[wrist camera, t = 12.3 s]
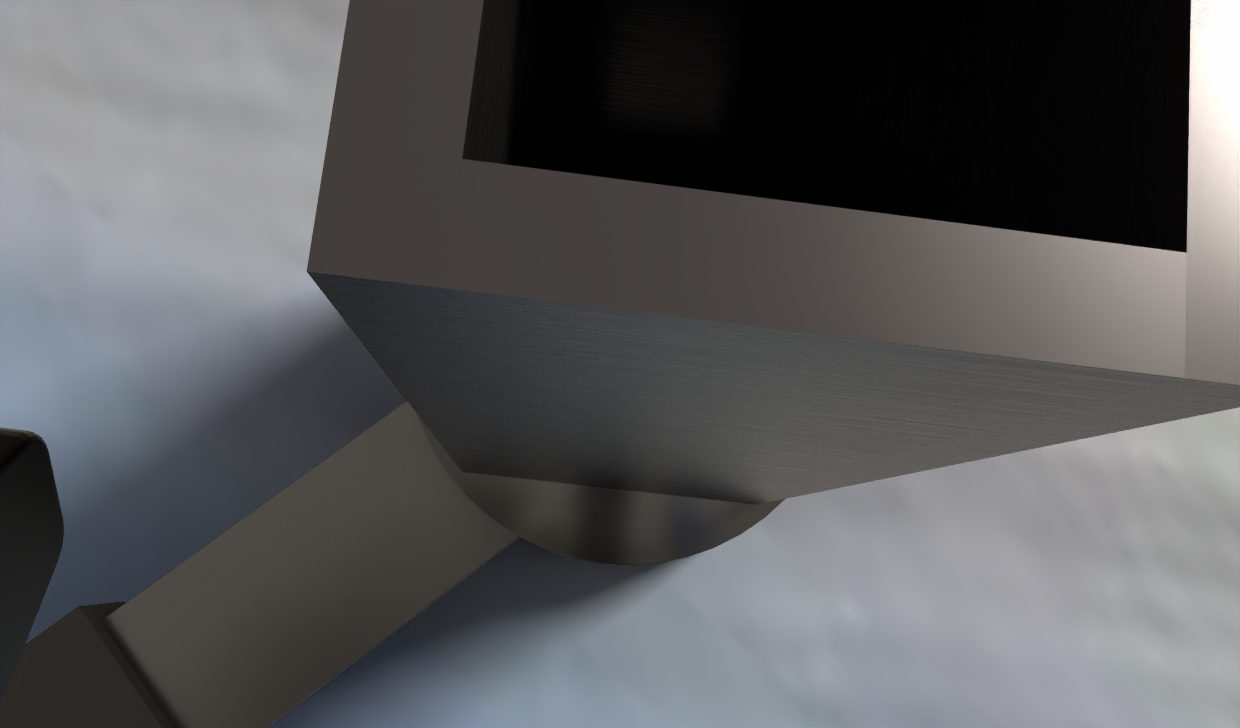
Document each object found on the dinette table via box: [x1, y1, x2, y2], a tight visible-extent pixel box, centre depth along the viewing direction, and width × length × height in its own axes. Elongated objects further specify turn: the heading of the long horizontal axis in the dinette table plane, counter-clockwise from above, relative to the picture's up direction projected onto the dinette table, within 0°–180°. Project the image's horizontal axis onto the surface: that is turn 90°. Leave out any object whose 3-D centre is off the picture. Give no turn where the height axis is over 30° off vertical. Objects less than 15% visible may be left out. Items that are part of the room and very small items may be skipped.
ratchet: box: [0, 401, 785, 728], centre depth 16 cm, size 20×7×5 cm, turn 127°
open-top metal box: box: [307, 0, 1240, 504], centre depth 12 cm, size 5×5×12 cm
